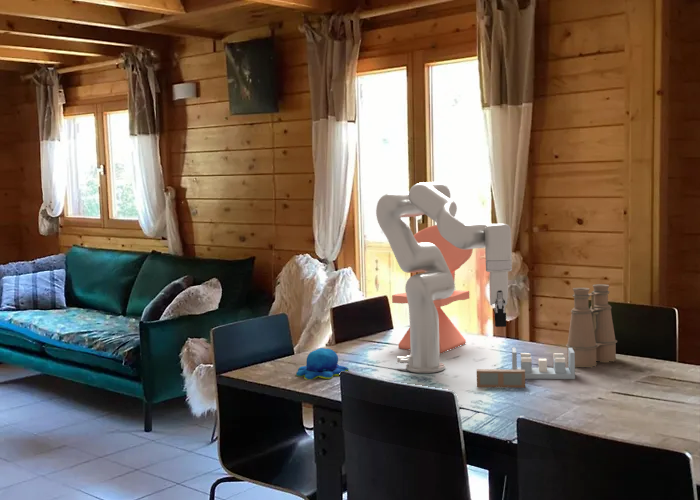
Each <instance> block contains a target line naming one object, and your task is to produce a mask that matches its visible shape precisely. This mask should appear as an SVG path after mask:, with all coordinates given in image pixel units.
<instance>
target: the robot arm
mask: <svg viewBox="0 0 700 500" xmlns="http://www.w3.org/2000/svg"><path fill="white" fill-rule="evenodd" d="M457 210H458V207H457V204H456V202H455V201H454V200H452V199H451V191H450V189H449V188H448V186H447V185H445V183H443V182H439V181H432V182H431V181H429V182H427V181H426V182H424V181H423V182H419V183H416V184H413V185H412V186H411V187H410V189H409V190H408V191H395V192H388V193H386V194H384V195H382V196H381V197H379V200H378V201H377V204H376V209H375V214H376V215H375V216H376V220H377V223H378V225H379V227H380V229H381V231H382V232H383V233H384V236H385V237H386V239H387V242H388V243H389V245H390V248H391V251H392V253H393V255H394V258H395V259H396V262H397V264H398V265H399V268H400V270H402V271H403V272H404V273H409V274H412V273H417V274H413V275H412V276H410V277H409V278H408V279H407V281H406V283H405V288H404V289H405V293H406V295H407V300H408V303H407V305H408V315H409V316H408V317H409V328H410V348H411V350H410V354H409V355H406V356H402V355H401V356H400V355H398V356H396V357H397V358H396V359H397V363H400V364H406V365H405V366H406V367H405V369H406V370H407V371H408V372H412V373H417V374H431V373H437V372H442V371H444V370H445V368H446V366H445V364H444V363H443V362H441V360H440V359H441V357H440V354H441V353H440V348H439V316H438V311H437V309H436V307H435V305H434V303H433V301H435V300H441V299H445V298H448V297H450V296H451V295H452V294H453V292H454V291H455V287H456V286H455V285H456V284H455V281H454V279H453V277H452V274H451V272H450V270H449V268H448V266H447V263H446V261H445V259H444V257H443V255H442V253H441V251H440V250H439V248H438V247H437V246H435V245H434V244H432V243H418V242H417V241H416V239H415V237H414V235H415V234H414V232H413V231H412V229H411V228H410V227H409V226H408V225H407V223H405V222H404V221H403V220H402V219H401V218H410V217H420V216H423V215H425V216H427V217H428V218H430V219H431V220H432V221H433V222H435V223H436V225H437V227H438V230H439V232H440V234H441V236H442V237H443V238H444V239H446V240H447V241H448V242H450V243H451V244H452V245H454V246H455V247H457V248H460V249H464V250H466V249H473V250H474V249H482V248H483V249H484V250H485V257H484V258H485V272H487V273H488V274H489V275H488V276H489V279H488V285H489V304H490V306H493V305H494V309H493V311H494V313H493V315H494V316H493V317H494V326H495V327H496V328H505V327H507V312H506V306H507V305H508V298H509V297H508V296H509V272H512V270H513V266H512V265H513V262H512V257H513V255H512V229H511V226H510V225H509V224H507V223H489V222H476V223H475V222H474V223H473V222H472V223H463V222H461V221H459V220H458V219H456V218H455V216H456V214H457ZM420 272H421V273H420Z"/></svg>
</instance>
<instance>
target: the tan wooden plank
mask: <svg viewBox="0 0 700 500" xmlns="http://www.w3.org/2000/svg"><path fill="white" fill-rule="evenodd" d="M476 388H509V389H510V388H516V389H519V388H522V389H523V388H526V379H525V370H512V368H511V369H506V368H503V369H501V368H500V369H498V368H497V369H495V368H494V369H492V368H491V369H489V368H486V369H485V368H476Z"/></svg>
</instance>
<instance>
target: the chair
mask: <svg viewBox="0 0 700 500" xmlns="http://www.w3.org/2000/svg"><path fill="white" fill-rule="evenodd" d="M413 235H414V237H415V239H416V241H417V242H418V243H432V244H434V245H435V246H437V247H438V248H439V250H440V251H441V253H442V255H443V257H444V259H445V261H446V263H447V266H448V268H449V270H450V272H451V274H452V277H453V279H454V282H455V280H456V279H455V275H456V271H457V270H459V269H460V268H461V266H463V265H464V264H465V263H466V262H467V261H468V260H470V258H471V256H472V254H473V250H474V249H466V250H464V249H460V248H457V247H455V246H454V245H452V244H451V243H450V242H448V241H447V240H446V239H444V238H443V237H442V236H441V234H440V232H439V230H438V227H437V224H435V225H430V226H427V227H425V228H423V229H420V230H419V231H417V232H415V234H413ZM468 299H470V291H469V290H461V289H460V290H456V289H455V290H454V292H453V294H452V295H451V296H450V297H448V298H445V299H441V300H435V301H433V303H434V305H435V307H436V309H437V311H438V316H439V348H440V354H441V353H442V354H444V353H446V352H445V351H447V350H449V351H451V350H450V349H452V350H454V349H456V348H455V347H457V348H459V347H458V346H460V345H462V346H464V345H463V344H465V343H467V341H466V339H465V337H464V335H462V334H461V332H460V331H459V330H458V328H457V327H456V326H455V324H454V323H453V322H452V321H451V320H450V318H449V317H448V315H446V313H445V312H444V310H443V309H442V308H441V307H446V306H447V305H450V304H451V303H453V302H458V301H465V300H468ZM391 302H392V304H402V305H403V304H408V300H407V295H406V292H404V293H396V294H392V296H391ZM397 345H398V349H399V350H407V349H410V350H409V351H411V348H410V327H409V328H408V329H407V331H406V332H405V334H404V336H403V337H402V338H401V340H400V341H399V342H398V344H397ZM465 345H466V344H465ZM460 347H461V346H460ZM453 348H454V349H453ZM443 352H444V353H443ZM447 352H448V351H447Z"/></svg>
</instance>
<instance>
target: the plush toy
mask: <svg viewBox="0 0 700 500" xmlns="http://www.w3.org/2000/svg"><path fill="white" fill-rule="evenodd" d="M338 362H339V356H338V354H337V352H335V351H334V350H333V349H331V348H323V347H320V348H318V349H315V350H313V351H310V352H309V353H308V355H307V356H306V365H303V366H300V367H299V368H297V371H296V373H295V376H296V377H298V378H299V377H301V378H302V377H303V379H304V380H306V381H307V380H308V381H311V380H315V379H317V378H321V379H325V380H331V379H333V377H340V376H339V373H340V372H341V371H346V372H349V368H348V367H347V366H343V365H340V364H339V363H338Z"/></svg>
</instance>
